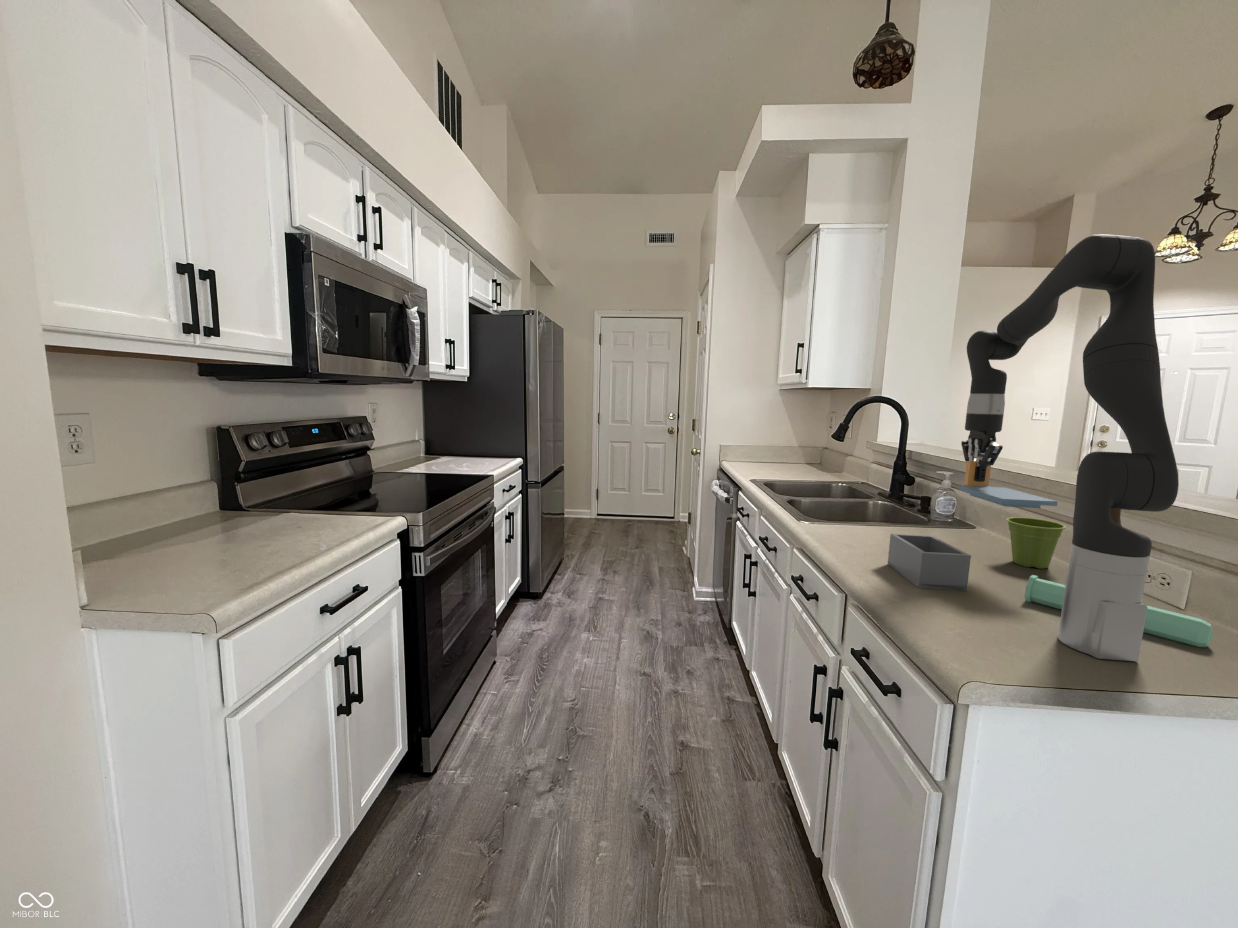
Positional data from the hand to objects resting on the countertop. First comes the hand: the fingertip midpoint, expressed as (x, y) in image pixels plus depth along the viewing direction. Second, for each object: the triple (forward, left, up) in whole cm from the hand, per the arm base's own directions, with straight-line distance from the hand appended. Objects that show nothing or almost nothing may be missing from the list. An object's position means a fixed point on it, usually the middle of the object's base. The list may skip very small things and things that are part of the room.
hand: (976, 480), depth 125 cm
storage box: (-14, +17, -22) cm, 31 cm away
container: (-34, -7, -22) cm, 41 cm away
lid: (-9, 0, -3) cm, 10 cm away
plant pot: (+1, -16, -22) cm, 27 cm away
